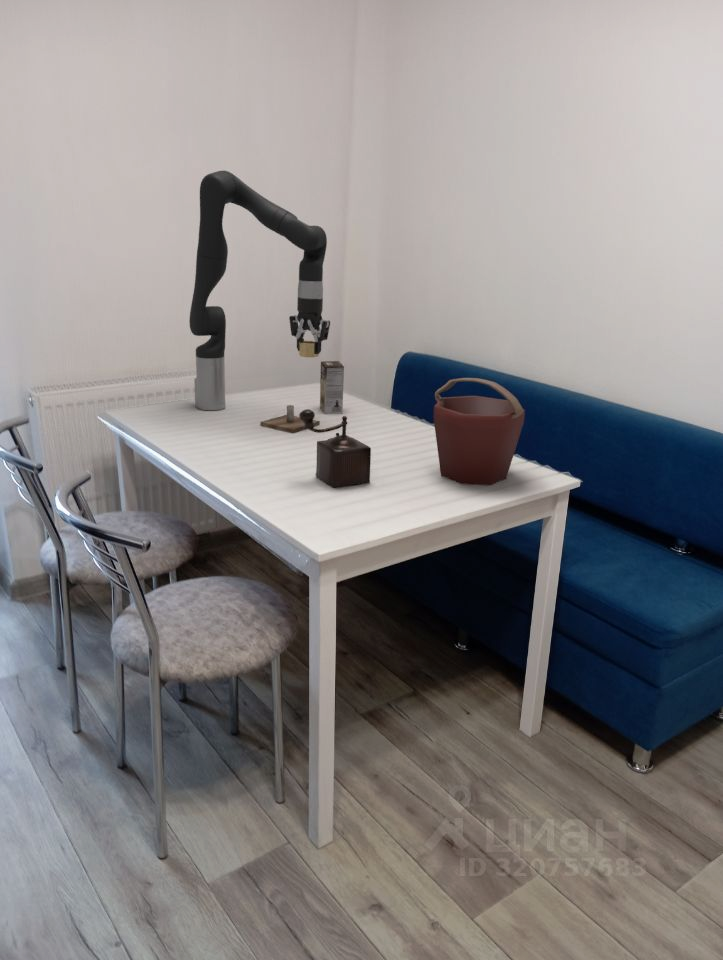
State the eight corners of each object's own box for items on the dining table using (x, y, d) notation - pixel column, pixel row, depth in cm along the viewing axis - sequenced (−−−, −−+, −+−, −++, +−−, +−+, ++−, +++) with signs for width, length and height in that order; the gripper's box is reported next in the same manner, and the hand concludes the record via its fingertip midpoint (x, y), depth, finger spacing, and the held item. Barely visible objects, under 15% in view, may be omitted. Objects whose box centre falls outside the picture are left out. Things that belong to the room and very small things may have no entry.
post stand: (260, 425, 248) (260, 406, 246) (287, 417, 258) (287, 399, 256) (293, 433, 241) (293, 413, 239) (319, 424, 251) (319, 405, 249)
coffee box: (319, 407, 273) (320, 360, 268) (337, 407, 274) (338, 360, 269) (324, 414, 265) (325, 366, 259) (343, 413, 266) (344, 365, 261)
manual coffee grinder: (349, 470, 209) (351, 403, 203) (370, 483, 200) (373, 413, 194) (295, 478, 201) (296, 408, 196) (315, 491, 192) (316, 419, 187)
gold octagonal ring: (295, 355, 243) (295, 342, 242) (306, 352, 248) (307, 340, 246) (310, 358, 240) (311, 344, 239) (321, 355, 245) (322, 342, 244)
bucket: (411, 468, 212) (416, 375, 204) (472, 456, 225) (479, 368, 217) (475, 495, 194) (484, 394, 186) (538, 480, 206) (548, 385, 198)
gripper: (283, 294, 239) (282, 350, 244) (322, 299, 232) (320, 357, 237) (298, 292, 245) (297, 347, 250) (337, 297, 238) (335, 354, 243)
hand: (308, 352), depth 244 cm, fingers closed on gold octagonal ring, 5 cm apart
